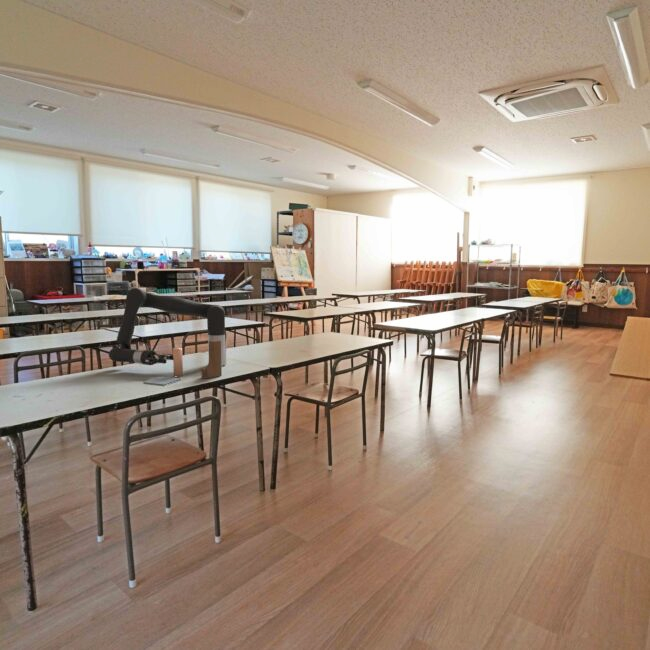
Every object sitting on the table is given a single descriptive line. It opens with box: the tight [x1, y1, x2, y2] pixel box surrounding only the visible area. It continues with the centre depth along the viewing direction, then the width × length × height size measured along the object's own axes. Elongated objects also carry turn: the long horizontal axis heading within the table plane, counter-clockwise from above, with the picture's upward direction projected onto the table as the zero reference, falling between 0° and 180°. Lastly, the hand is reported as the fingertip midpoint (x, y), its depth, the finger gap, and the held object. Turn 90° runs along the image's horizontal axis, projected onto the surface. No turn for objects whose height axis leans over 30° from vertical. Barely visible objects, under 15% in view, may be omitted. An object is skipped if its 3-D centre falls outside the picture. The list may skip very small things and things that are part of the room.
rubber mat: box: [143, 376, 182, 386], centre depth 221 cm, size 12×12×1 cm
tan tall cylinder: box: [172, 347, 184, 378], centre depth 231 cm, size 4×4×14 cm
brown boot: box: [201, 340, 223, 380], centre depth 230 cm, size 9×4×18 cm, turn 140°
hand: (171, 359), depth 232 cm, fingers open, 8 cm apart
